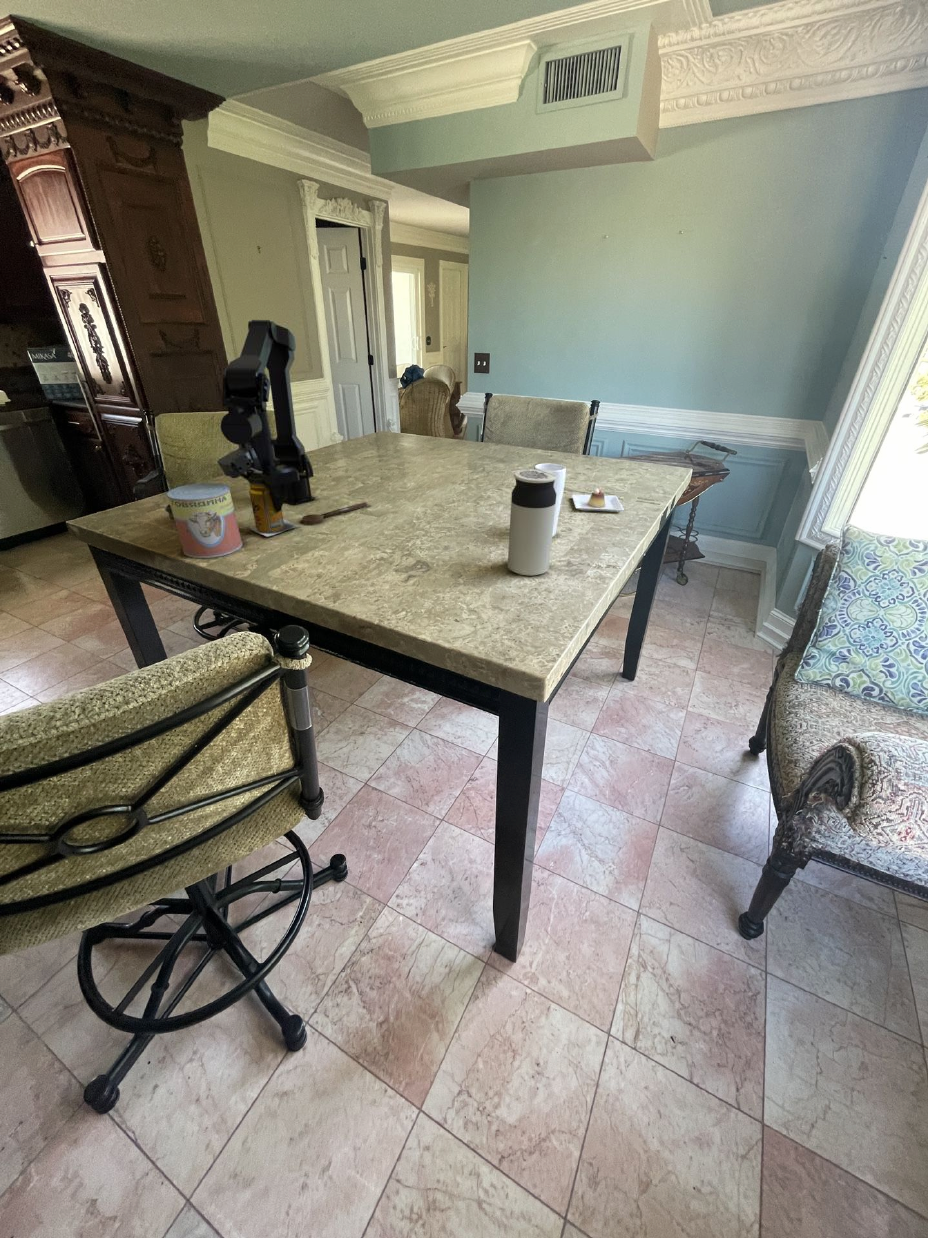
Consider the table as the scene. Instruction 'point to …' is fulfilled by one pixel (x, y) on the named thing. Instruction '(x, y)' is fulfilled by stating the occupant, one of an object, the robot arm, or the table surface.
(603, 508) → the dessert
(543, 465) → the drinking glass
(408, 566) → the table surface
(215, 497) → the canned food
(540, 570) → the travel mug
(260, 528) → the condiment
